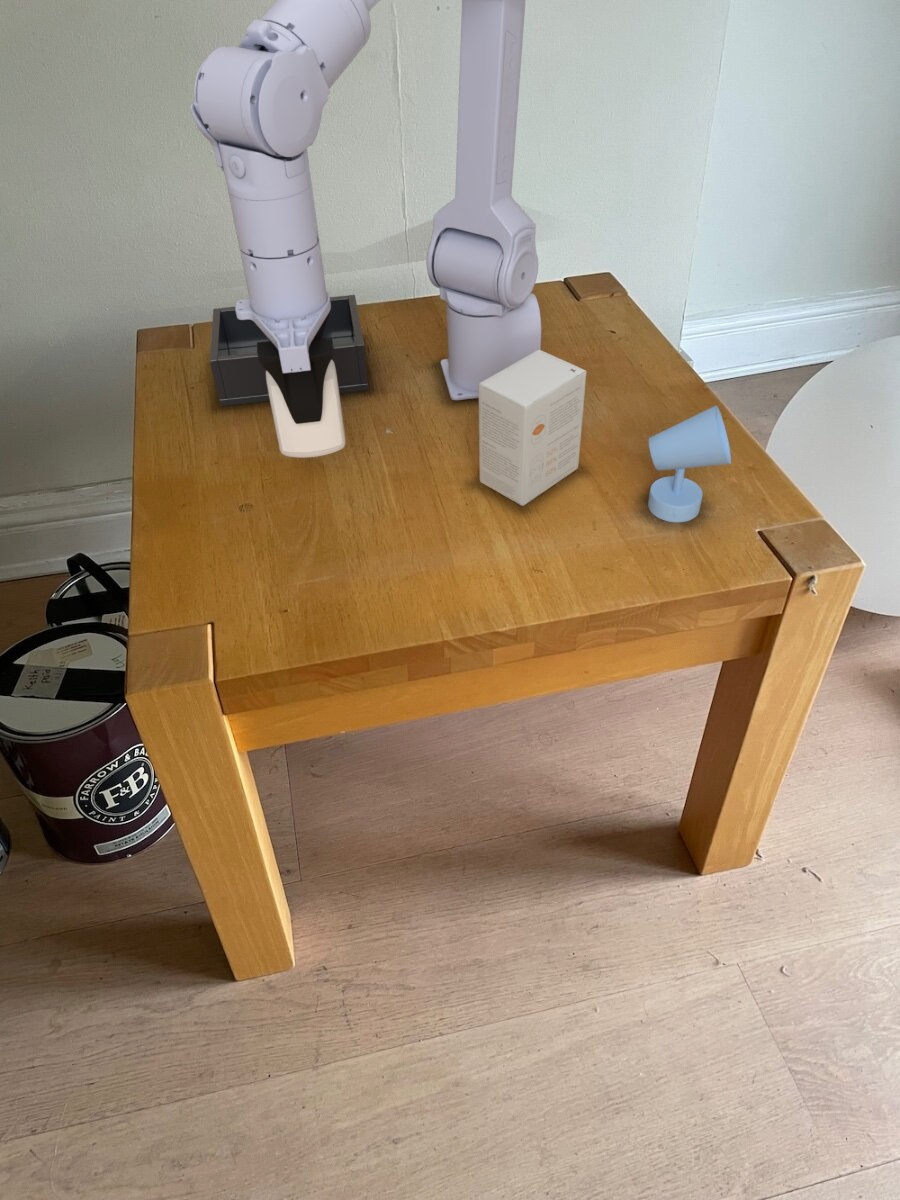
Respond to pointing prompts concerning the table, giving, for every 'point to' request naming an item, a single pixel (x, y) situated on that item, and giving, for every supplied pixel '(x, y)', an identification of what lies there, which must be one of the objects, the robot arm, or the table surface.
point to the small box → (530, 425)
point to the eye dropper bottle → (311, 435)
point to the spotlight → (686, 463)
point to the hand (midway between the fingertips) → (306, 407)
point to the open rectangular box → (238, 340)
